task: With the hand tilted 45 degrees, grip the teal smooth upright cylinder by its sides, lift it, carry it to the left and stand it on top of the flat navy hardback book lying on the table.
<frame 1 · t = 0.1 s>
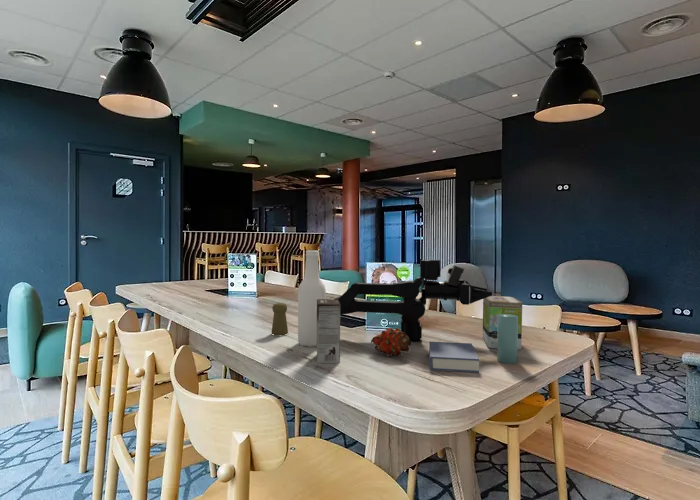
hand: (489, 292, 129), 17 cm above the table, tool horizontal, fingers open, 9 cm apart
book: (452, 362, 108), on the table
teal smooth upright cylinder: (507, 360, 109), on the table
alcohol: (311, 344, 128), on the table
tea box: (500, 344, 128), on the table
dragon fruit: (390, 355, 115), on the table
coffee box: (328, 359, 111), on the table
cork: (279, 334, 141), on the table
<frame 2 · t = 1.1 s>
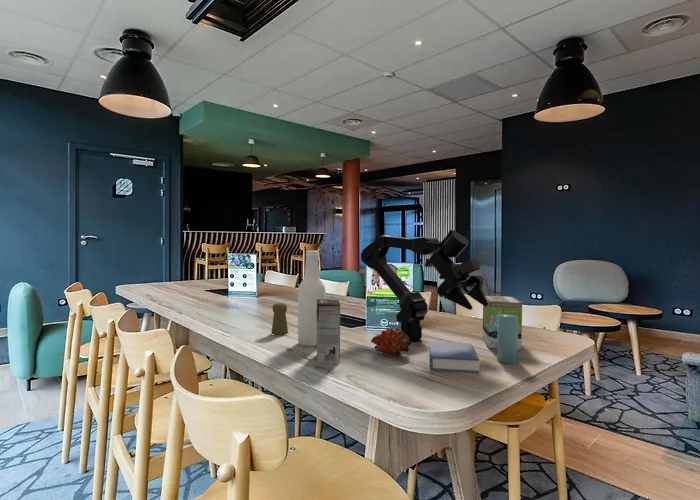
hand: (479, 307, 115), 14 cm above the table, tool tilted 45°, fingers open, 9 cm apart
nothing on the table moved.
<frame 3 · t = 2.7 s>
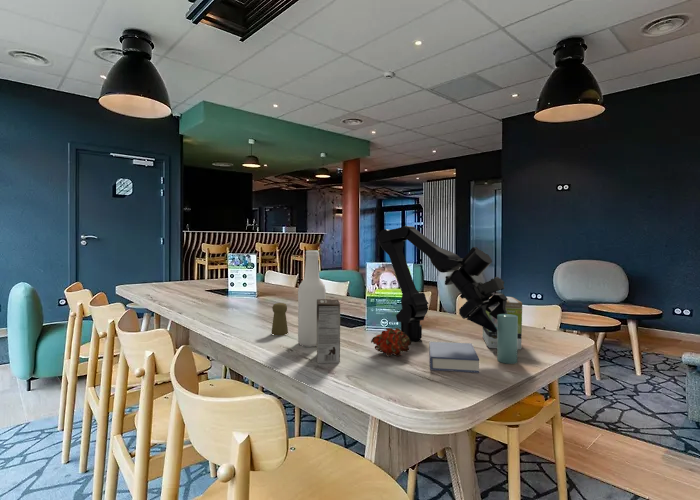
hand: (503, 329, 110), 9 cm above the table, tool tilted 45°, fingers open, 9 cm apart
nothing on the table moved.
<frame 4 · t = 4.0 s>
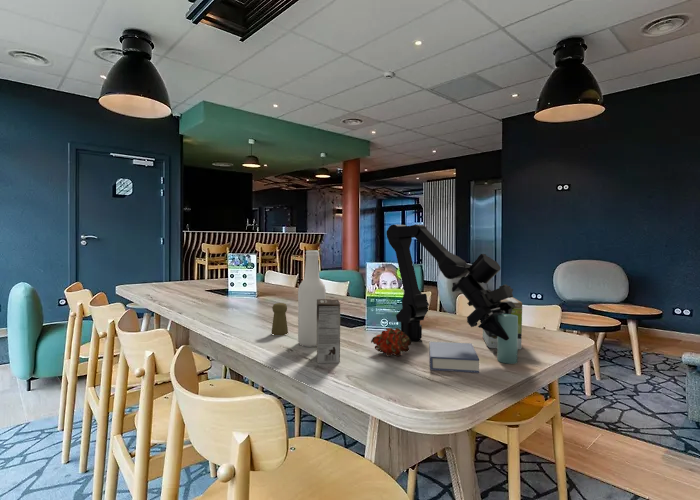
hand: (512, 337, 108), 7 cm above the table, tool tilted 45°, fingers closed on teal smooth upright cylinder, 5 cm apart
teal smooth upright cylinder: (507, 360, 109), on the table, touching gripper
everything else where it was.
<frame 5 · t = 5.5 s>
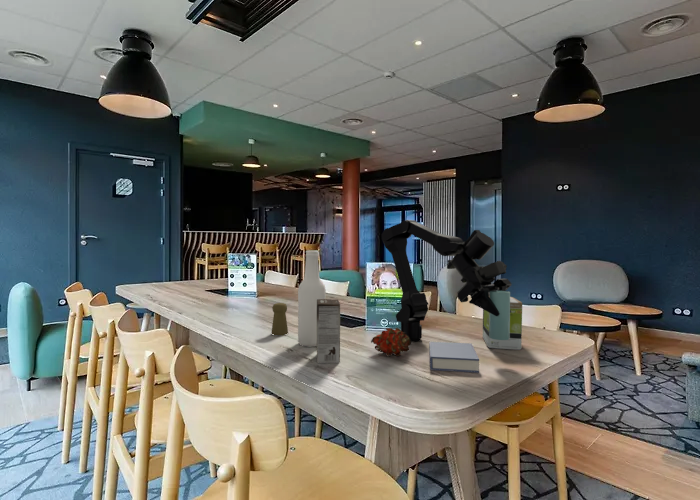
hand: (504, 314, 106), 13 cm above the table, tool tilted 45°, fingers closed on teal smooth upright cylinder, 5 cm apart
teal smooth upright cylinder: (499, 337, 107), point 7 cm above the table, touching gripper
everything else where it was.
when the fingers open (11 cm above the table, at t = 7.1 s): teal smooth upright cylinder stays where it is, resting on book.
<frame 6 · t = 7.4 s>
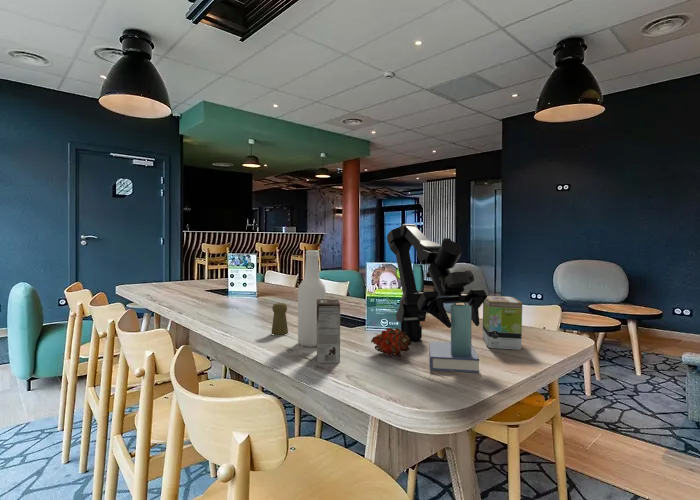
hand: (464, 326, 102), 11 cm above the table, tool tilted 45°, fingers open, 8 cm apart
teal smooth upright cylinder: (461, 353, 104), point 3 cm above the table, touching book
everything else where it was.
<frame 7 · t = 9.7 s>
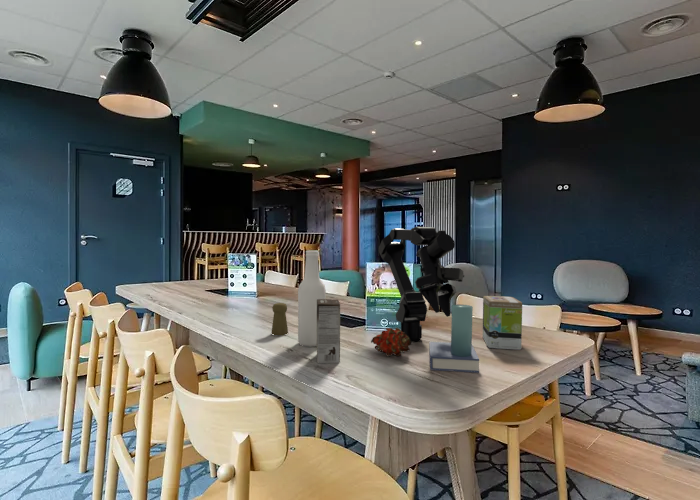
hand: (443, 314, 115), 12 cm above the table, tool tilted 25°, fingers open, 9 cm apart
nothing on the table moved.
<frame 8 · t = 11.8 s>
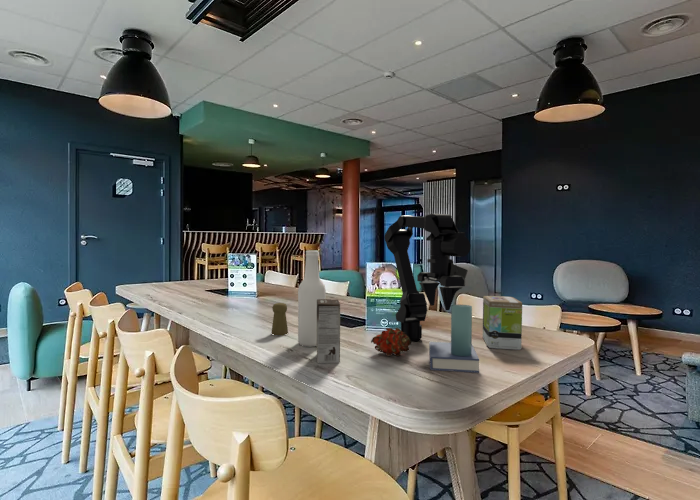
hand: (439, 307, 119), 13 cm above the table, tool pointing down, fingers open, 9 cm apart
nothing on the table moved.
at the end: teal smooth upright cylinder inside the target area on the book (4.4 cm from its centre), point 3.5 cm above the book's base; teal smooth upright cylinder tilted 2°; the gripper is holding nothing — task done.
